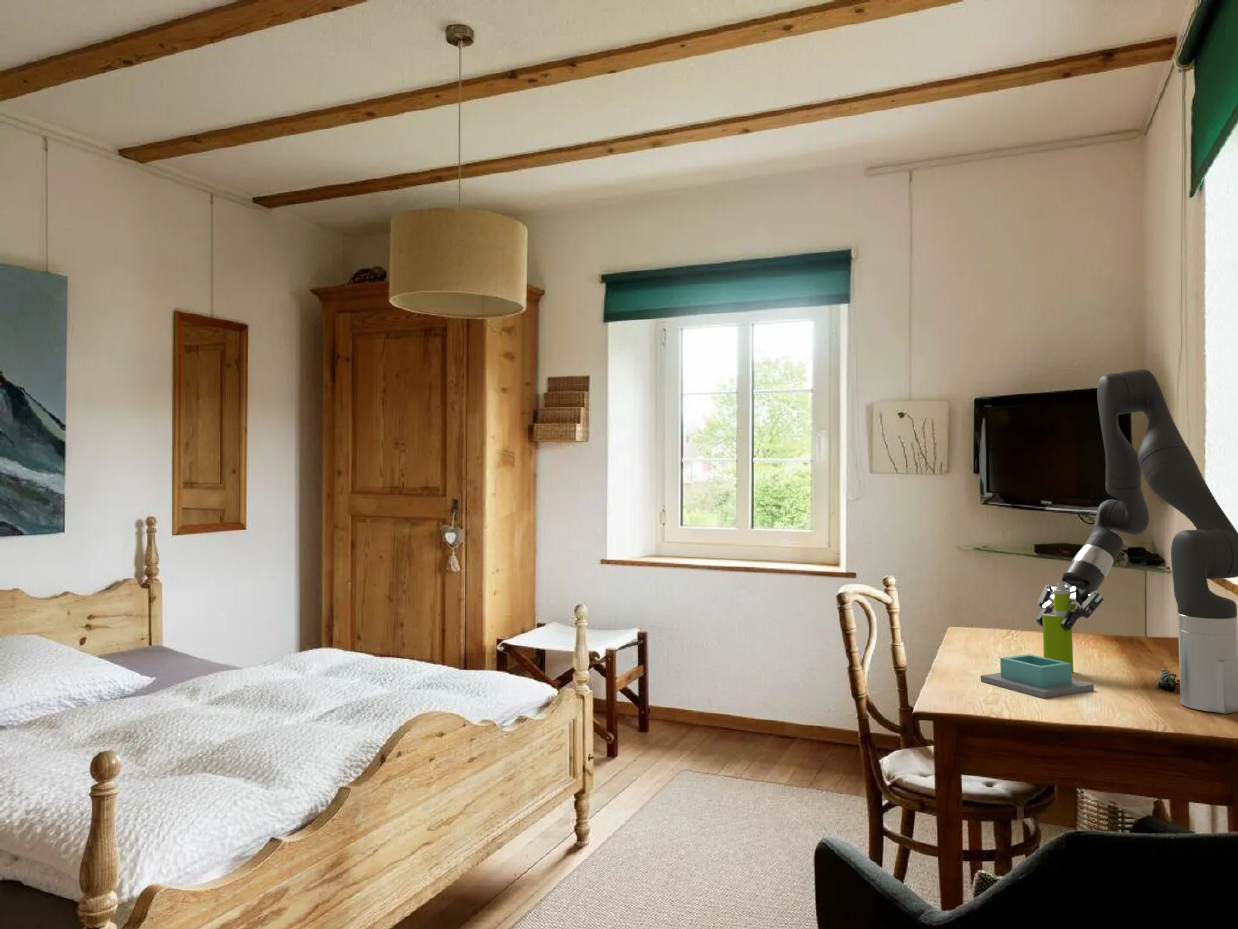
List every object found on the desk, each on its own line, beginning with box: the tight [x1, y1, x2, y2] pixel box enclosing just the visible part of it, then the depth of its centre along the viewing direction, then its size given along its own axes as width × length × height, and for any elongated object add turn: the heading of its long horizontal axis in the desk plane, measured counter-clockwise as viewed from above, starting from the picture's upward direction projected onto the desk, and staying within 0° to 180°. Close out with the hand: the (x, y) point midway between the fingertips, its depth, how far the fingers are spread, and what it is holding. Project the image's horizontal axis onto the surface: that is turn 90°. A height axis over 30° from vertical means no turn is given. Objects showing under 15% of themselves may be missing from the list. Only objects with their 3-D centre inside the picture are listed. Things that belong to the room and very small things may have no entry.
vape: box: [1042, 581, 1074, 674], centre depth 191 cm, size 4×6×20 cm, turn 51°
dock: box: [980, 653, 1095, 699], centre depth 179 cm, size 16×14×5 cm
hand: (1051, 626), depth 190 cm, fingers closed on vape, 5 cm apart
